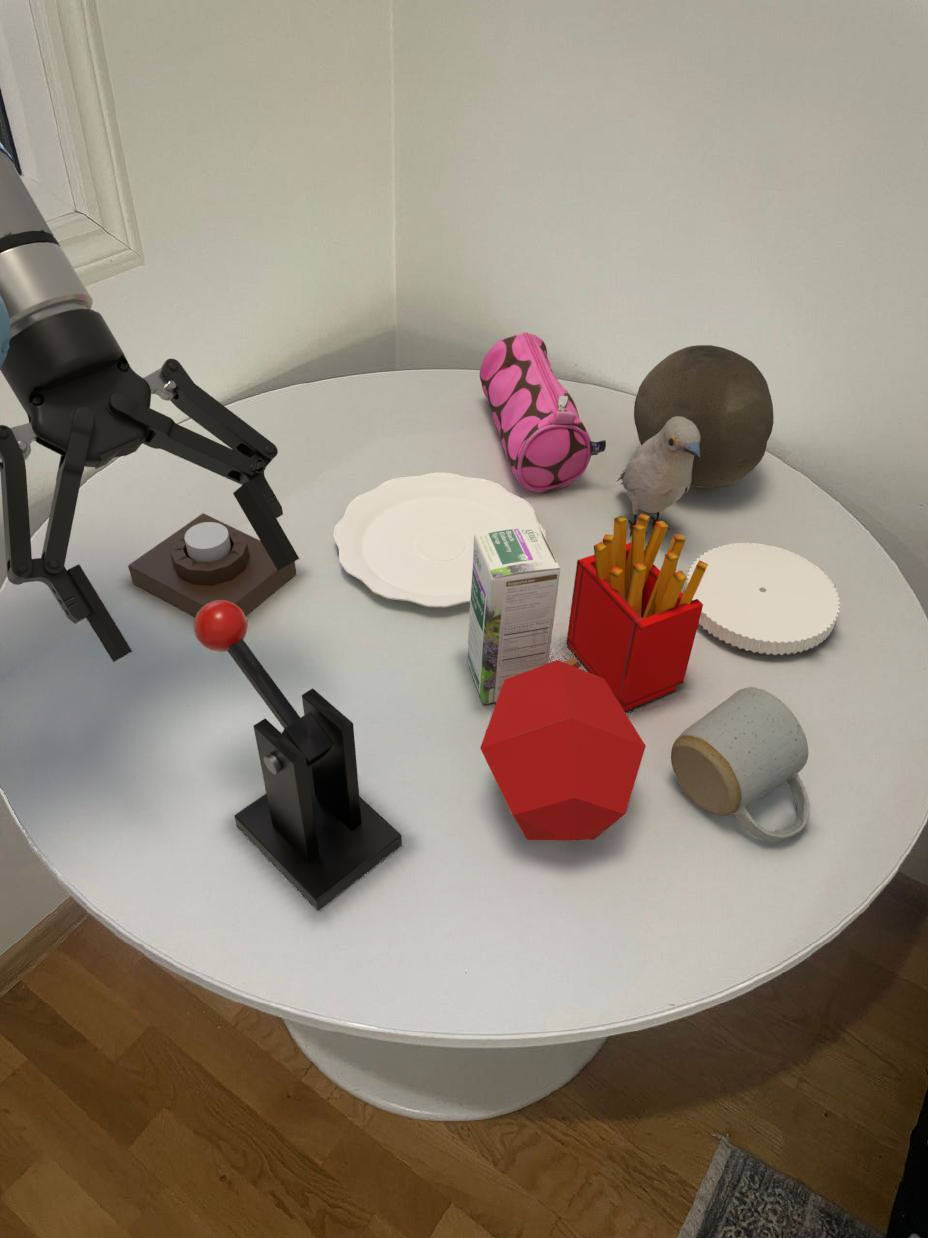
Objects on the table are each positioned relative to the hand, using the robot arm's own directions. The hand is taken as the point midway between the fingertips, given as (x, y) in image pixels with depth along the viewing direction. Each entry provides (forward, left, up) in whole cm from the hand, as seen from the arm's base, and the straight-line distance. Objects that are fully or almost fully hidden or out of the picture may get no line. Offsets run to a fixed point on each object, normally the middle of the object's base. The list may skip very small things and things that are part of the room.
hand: (210, 609), depth 69 cm
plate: (-2, +31, -16) cm, 35 cm away
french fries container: (+21, +27, -17) cm, 38 cm away
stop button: (-17, +15, -13) cm, 26 cm away
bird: (+14, +46, -17) cm, 51 cm away
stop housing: (-17, +15, -16) cm, 28 cm away
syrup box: (+13, +20, -17) cm, 29 cm away
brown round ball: (+14, +57, -17) cm, 61 cm away
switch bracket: (+10, -2, -16) cm, 19 cm away
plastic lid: (+28, +41, -17) cm, 52 cm away
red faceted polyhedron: (+23, +11, -16) cm, 30 cm away
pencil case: (-4, +53, -17) cm, 55 cm away
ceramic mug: (+35, +20, -17) cm, 43 cm away
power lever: (+5, -1, -5) cm, 6 cm away
